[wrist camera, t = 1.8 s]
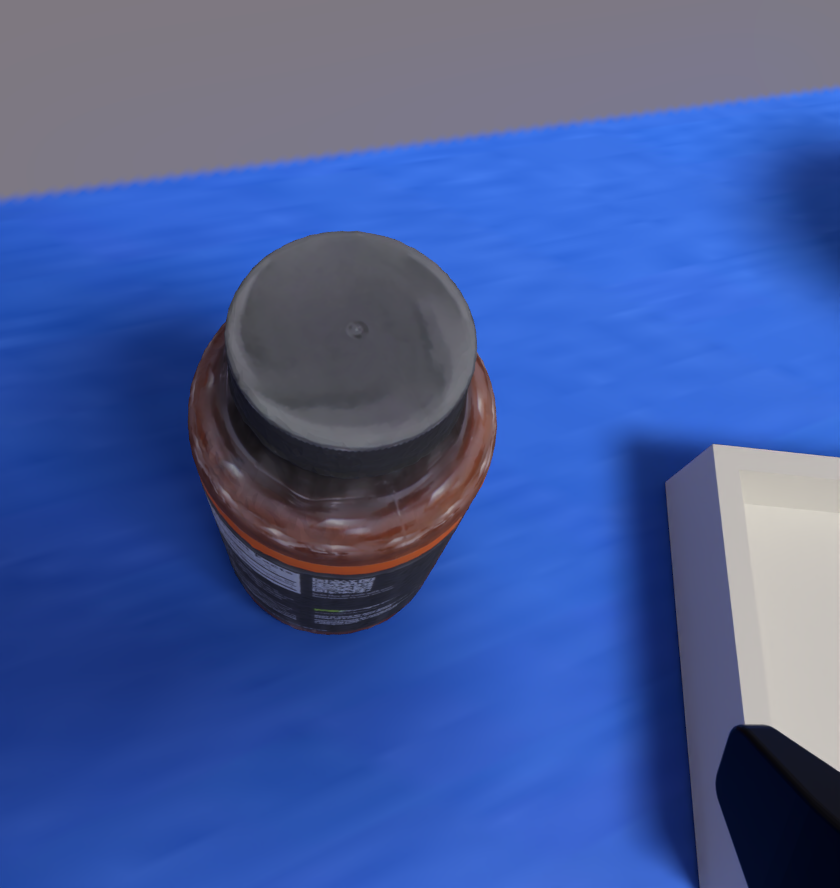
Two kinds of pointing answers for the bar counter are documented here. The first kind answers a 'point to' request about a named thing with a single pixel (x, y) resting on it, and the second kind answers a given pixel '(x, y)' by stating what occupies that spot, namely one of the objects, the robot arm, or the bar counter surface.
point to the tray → (754, 615)
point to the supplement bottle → (341, 427)
